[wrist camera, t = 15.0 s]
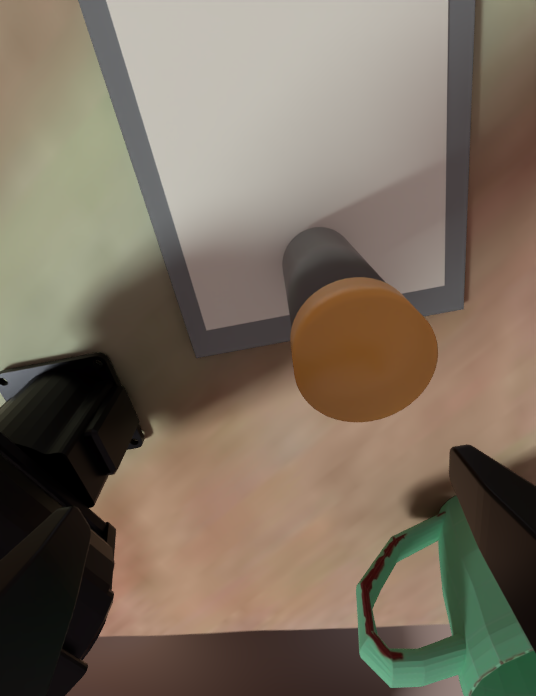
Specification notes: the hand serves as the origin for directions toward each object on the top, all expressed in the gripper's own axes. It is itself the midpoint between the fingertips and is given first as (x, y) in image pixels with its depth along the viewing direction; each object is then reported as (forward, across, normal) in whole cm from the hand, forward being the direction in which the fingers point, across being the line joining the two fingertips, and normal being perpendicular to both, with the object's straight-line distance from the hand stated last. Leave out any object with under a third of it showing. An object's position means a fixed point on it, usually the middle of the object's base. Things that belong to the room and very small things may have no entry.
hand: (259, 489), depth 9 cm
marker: (+11, -3, -2) cm, 12 cm away
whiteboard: (+12, -3, -7) cm, 14 cm away
